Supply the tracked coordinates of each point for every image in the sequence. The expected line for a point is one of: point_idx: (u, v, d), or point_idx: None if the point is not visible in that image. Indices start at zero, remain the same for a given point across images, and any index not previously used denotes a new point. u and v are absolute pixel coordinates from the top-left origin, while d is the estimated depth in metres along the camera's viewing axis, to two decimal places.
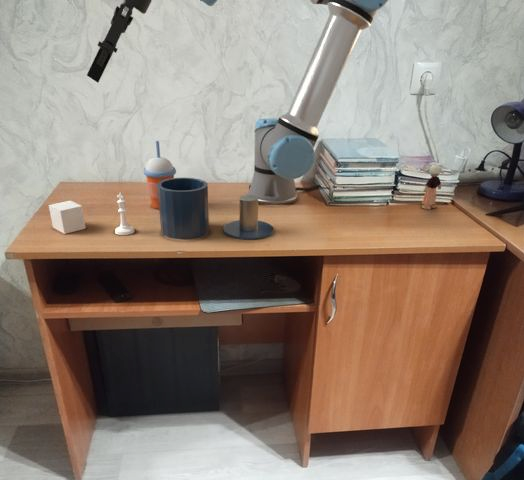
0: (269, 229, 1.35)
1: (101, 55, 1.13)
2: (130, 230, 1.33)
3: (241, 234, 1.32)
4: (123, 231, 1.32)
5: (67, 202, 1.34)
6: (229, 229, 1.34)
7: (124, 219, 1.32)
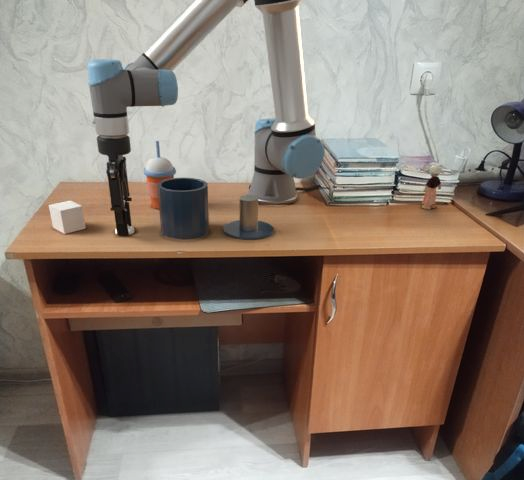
0: (269, 229, 1.35)
1: (117, 216, 1.28)
2: (130, 230, 1.33)
3: (241, 234, 1.32)
4: None
5: (67, 202, 1.34)
6: (229, 229, 1.34)
7: None
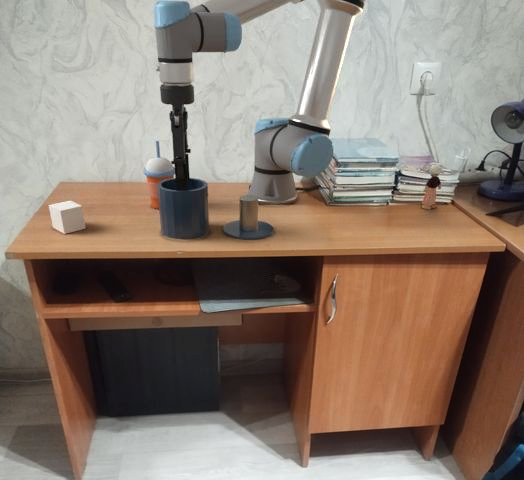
0: (269, 229, 1.35)
1: (178, 170, 1.20)
2: None
3: (241, 234, 1.32)
4: None
5: (67, 202, 1.34)
6: (229, 229, 1.34)
7: None
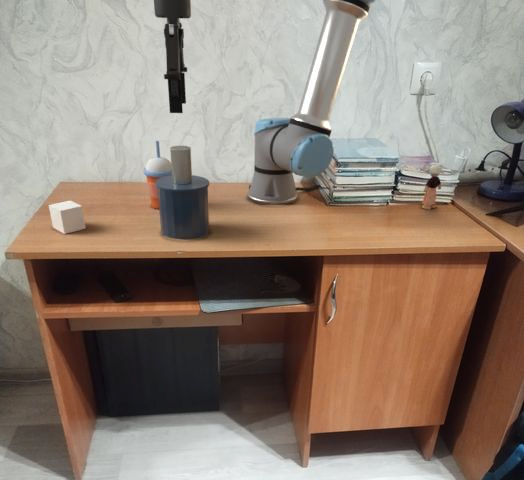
0: (204, 183, 1.27)
1: (172, 86, 1.09)
2: None
3: (172, 187, 1.24)
4: None
5: (67, 202, 1.34)
6: (161, 182, 1.27)
7: None
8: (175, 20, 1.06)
